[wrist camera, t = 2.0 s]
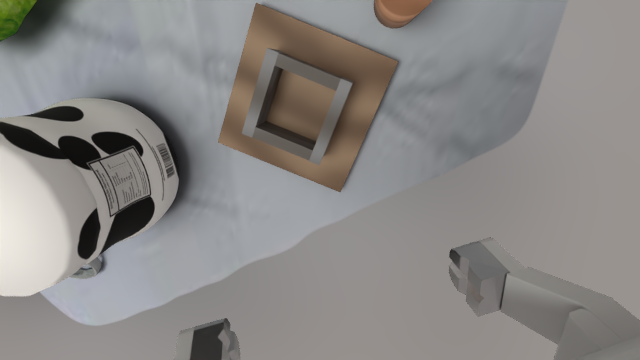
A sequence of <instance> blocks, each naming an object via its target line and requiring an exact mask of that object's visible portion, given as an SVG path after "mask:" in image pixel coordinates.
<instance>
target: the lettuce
mask: <svg viewBox="0 0 640 360" xmlns="http://www.w3.org/2000/svg"><path fill="white" fill-rule="evenodd" d="M36 1H37V0H0V41H2V40H4V39H6V38H8V37H10V36H11V35H13V34H15V33H16V32H17V31H18V29H19V27H20V25H21V23H22V21H23V20H24V18H25V16H26V15H27V14H28V12H29V11H30V10H31V8H32V7H33V6H34V4H35V3H36Z"/></svg>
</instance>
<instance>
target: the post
mask: <svg viewBox="0 0 640 360" xmlns="http://www.w3.org/2000/svg"><path fill="white" fill-rule="evenodd" d="M431 1H432V0H374V12H375V15H376V17H377V19H378V20H379V22H380V23H381V24H383V25H384V26H386V27H389V28H400V27H402V26H404V25H406V24H408V23H409V22H410V21H411V20H412V19H413V18H414V17H416V16H417V15H418V14H419V13H420V12H421V11H422V10H423V9H425V8H426V7H427V6H428V5H429V4H430V3H431Z"/></svg>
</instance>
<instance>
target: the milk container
mask: <svg viewBox="0 0 640 360" xmlns="http://www.w3.org/2000/svg"><path fill="white" fill-rule="evenodd" d="M178 184H179V170H178V162H177V158H176V155H175V153H174V151H173V148H172V146H171V144H170V142H169V140H168V138H167V137H166V136H165V134H164V133H163V132H162V131H161V129H160V128H159V127H158V126H157V125H156V124H155V123H154V122H153V121H152V120H151V119H150V118H148V117H147V116H146V115H144V114H143V113H141V112H140V111H138V110H136V109H135V108H133V107H131V106H129V105H126V104H124V103H121V102H117V101H113V100H107V99H99V98H79V99H71V100H66V101H62V102H58V103H56V104H53V105H51V106H48V107H46V108H44V109H42V110H40V111H38V112H36V113H34V114H31V115H25V116H17V117H7V118H0V295H2V296H30V295H32V294H35V293H37V292H39V291H42V290H44V289H46V288H49V287H51V286H53V285H55V284H57V283H59V282H61V281H62V280H64V279H66V278H68V277H69V276H71V275H72V274H74V273H75V272H77V271H78V270H79V269H80V268H81V267H83V266H85V265H87V264H88V263H90V262H91V261H92V260H94V259H95V258H96V257H98V256H99V255H100V254H101V253H103V252H104V251H105V250H107V249H108V248H109V247H111V246H112V245H114V244H115V243H118V242H121V241H124V240H127V239H129V238H132V237H134V236H137V235H139V234H141V233H142V232H144V231H146V230H147V229H149V228H150V227H152V226H153V225H154V224H155V223H156V222H157V221H158V220H159V219H160V218H161V217H162V216H163V215H164V214H165V213H166V211H167V210H168V209H169V207H170V206H171V204H172V203H173V201H174V199H175V196H176V193H177V190H178Z"/></svg>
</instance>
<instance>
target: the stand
mask: <svg viewBox="0 0 640 360" xmlns="http://www.w3.org/2000/svg"><path fill="white" fill-rule="evenodd" d="M397 64H398V61H396V60H393V59H391V58H388V57H386V56H384V55H381V54H379V53H376V52H374V51H372V50H369V49H367V48H364V47H362V46H359V45H357V44H355V43H352V42H350V41H347V40H345V39H343V38H340V37H338V36H335V35H333V34H330V33H328V32H326V31H323V30H321V29H318V28H316V27H314V26H311V25H309V24H306V23H304V22H301V21H299V20H297V19H294V18H292V17H289V16H287V15H285V14H282V13H280V12H277V11H275V10H272V9H270V8H268V7H265V6H263V5H260V4H258V3H256V5H255V8H254V12H253V16H252V19H251V23H250V27H249V30H248V34H247V38H246V41H245V45H244V49H243V52H242V56H241V60H240V63H239V67H238V71H237V74H236V78H235V82H234V85H233V89H232V93H231V96H230V100H229V104H228V107H227V111H226V115H225V118H224V122H223V126H222V129H221V133H220V137H219V140H218V143H221V144H223V145H226V146H228V147H231V148H233V149H236V150H238V151H240V152H243V153H245V154H248V155H250V156H253V157H255V158H258V159H260V160H262V161H265V162H267V163H270V164H272V165H275V166H277V167H280V168H282V169H285V170H287V171H289V172H292V173H294V174H297V175H299V176H302V177H304V178H307V179H309V180H311V181H314V182H316V183H319V184H321V185H324V186H326V187H329V188H331V189H334V190H336V191H338V192H341V189H342V187H343V185H344V183H345V180H346V178H347V176H348V174H349V171H350V169H351V167H352V165H353V162H354V160H355V158H356V156H357V153H358V151H359V149H360V147H361V144H362V142H363V140H364V138H365V135H366V133H367V131H368V129H369V126H370V124H371V122H372V120H373V117H374V115H375V113H376V111H377V109H378V106H379V104H380V102H381V100H382V97H383V95H384V93H385V91H386V88H387V86H388V84H389V82H390V79H391V77H392V75H393V73H394V70H395V68H396V66H397Z"/></svg>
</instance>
